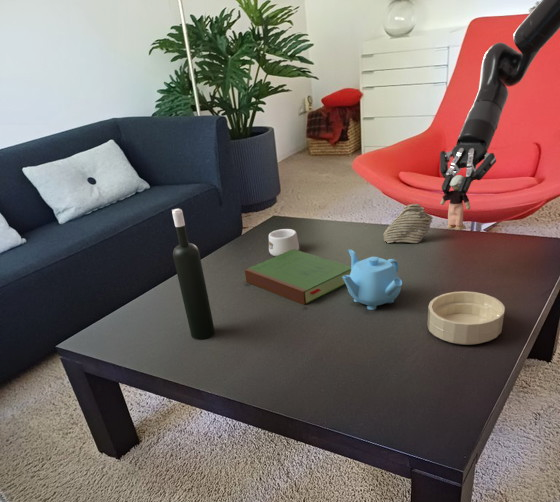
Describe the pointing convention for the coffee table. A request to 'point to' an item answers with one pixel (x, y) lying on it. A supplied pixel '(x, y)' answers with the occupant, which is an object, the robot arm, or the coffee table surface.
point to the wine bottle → (192, 282)
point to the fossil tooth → (409, 225)
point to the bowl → (465, 317)
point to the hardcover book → (298, 276)
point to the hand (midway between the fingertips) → (453, 192)
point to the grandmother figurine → (456, 204)
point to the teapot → (373, 280)
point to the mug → (282, 241)
